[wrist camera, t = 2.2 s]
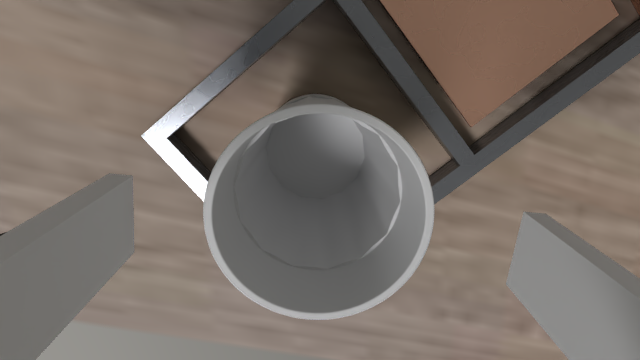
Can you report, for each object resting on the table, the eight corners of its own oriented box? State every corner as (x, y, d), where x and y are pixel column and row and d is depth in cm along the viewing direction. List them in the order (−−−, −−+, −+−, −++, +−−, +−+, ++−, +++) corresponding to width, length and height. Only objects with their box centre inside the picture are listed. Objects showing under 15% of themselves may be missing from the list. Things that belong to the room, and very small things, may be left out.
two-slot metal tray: (301, 290, 29) (300, 302, 28) (150, 131, 26) (141, 135, 25) (664, 20, 25) (686, 18, 23) (537, -213, 22) (554, -232, 20)
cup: (394, 93, 26) (462, 129, 14) (364, 217, 28) (402, 335, 16) (260, 67, 25) (218, 81, 14) (241, 196, 27) (190, 302, 16)
